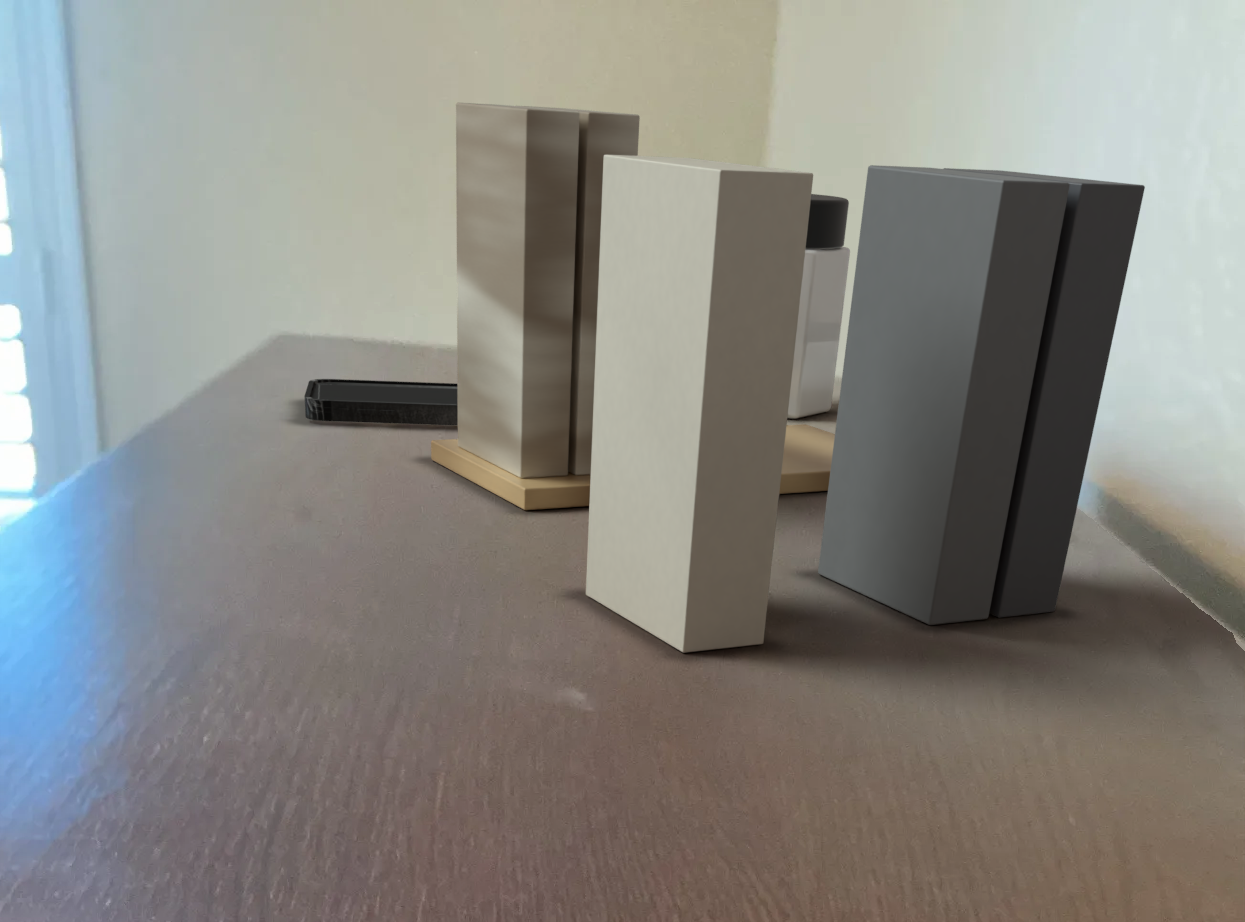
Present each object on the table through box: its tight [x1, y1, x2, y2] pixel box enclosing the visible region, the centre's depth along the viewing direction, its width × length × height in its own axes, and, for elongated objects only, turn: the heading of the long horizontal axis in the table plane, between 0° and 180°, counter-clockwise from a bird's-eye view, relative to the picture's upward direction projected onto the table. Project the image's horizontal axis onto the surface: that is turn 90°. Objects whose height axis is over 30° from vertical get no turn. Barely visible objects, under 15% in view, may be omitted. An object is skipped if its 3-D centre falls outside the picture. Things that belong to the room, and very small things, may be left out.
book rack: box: [430, 102, 835, 511], centre depth 78 cm, size 24×12×16 cm, turn 117°
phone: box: [303, 378, 458, 427], centre depth 92 cm, size 8×1×15 cm
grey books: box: [817, 164, 1146, 626], centre depth 60 cm, size 6×8×15 cm
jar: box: [787, 193, 851, 419], centre depth 98 cm, size 9×8×12 cm
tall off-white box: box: [585, 155, 814, 654], centre depth 55 cm, size 4×8×15 cm, turn 27°
